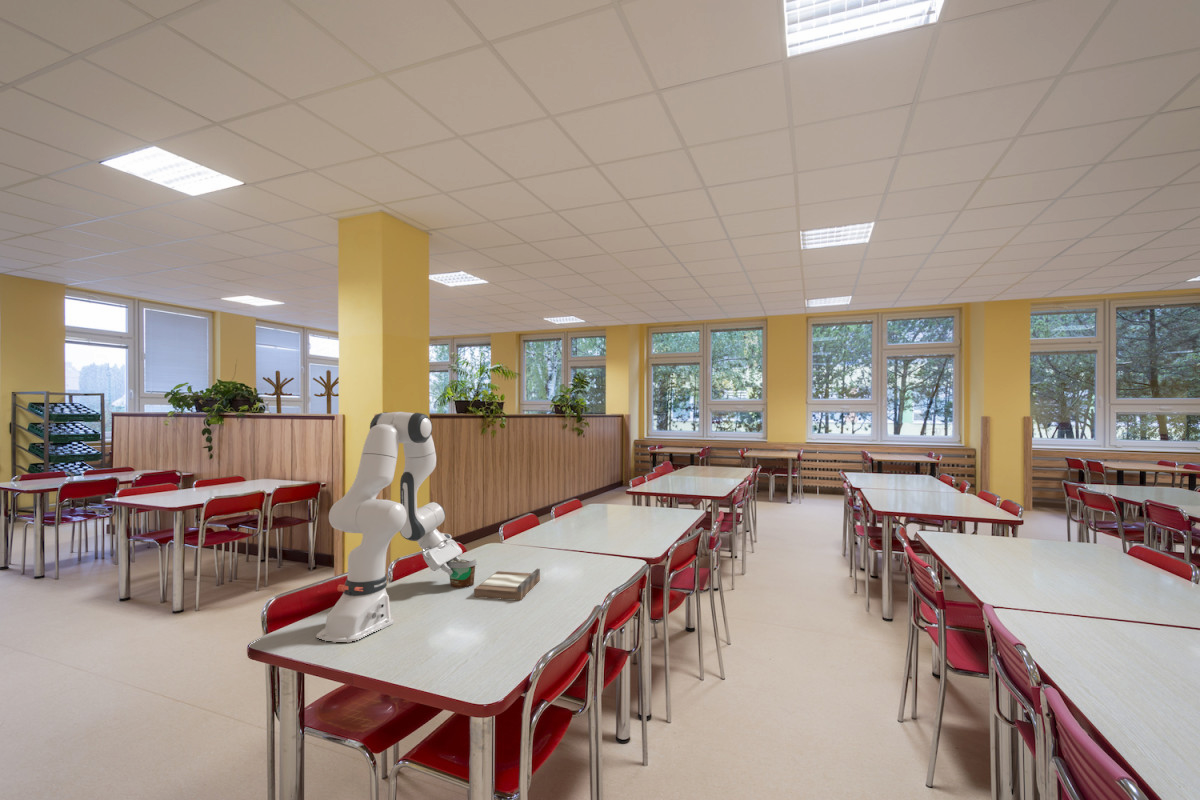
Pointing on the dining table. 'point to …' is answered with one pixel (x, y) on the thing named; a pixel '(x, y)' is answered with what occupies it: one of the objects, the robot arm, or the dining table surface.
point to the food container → (462, 573)
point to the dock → (508, 585)
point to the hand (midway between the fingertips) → (456, 570)
